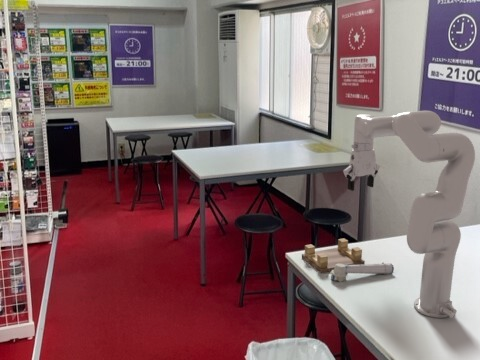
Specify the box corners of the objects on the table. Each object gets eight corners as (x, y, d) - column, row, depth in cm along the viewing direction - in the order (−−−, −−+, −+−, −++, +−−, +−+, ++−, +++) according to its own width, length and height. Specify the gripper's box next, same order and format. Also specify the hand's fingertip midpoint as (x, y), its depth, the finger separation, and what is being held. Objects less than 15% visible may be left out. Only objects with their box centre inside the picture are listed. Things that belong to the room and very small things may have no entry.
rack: (364, 264, 206) (365, 250, 205) (321, 273, 199) (322, 259, 198) (342, 249, 221) (343, 236, 219) (301, 257, 213) (302, 244, 212)
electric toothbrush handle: (395, 266, 196) (336, 265, 190) (392, 282, 198) (333, 281, 191) (388, 260, 201) (330, 259, 194) (385, 276, 203) (327, 275, 196)
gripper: (351, 150, 192) (349, 193, 197) (386, 145, 200) (383, 187, 204) (339, 146, 199) (337, 188, 204) (374, 142, 206) (371, 182, 211)
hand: (360, 188), depth 204 cm, fingers open, 9 cm apart
